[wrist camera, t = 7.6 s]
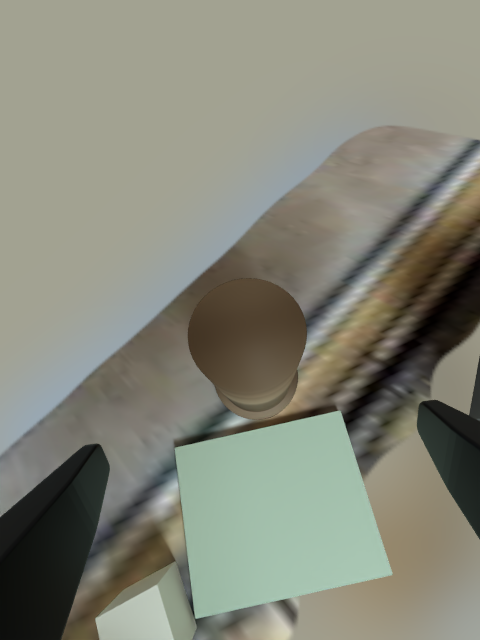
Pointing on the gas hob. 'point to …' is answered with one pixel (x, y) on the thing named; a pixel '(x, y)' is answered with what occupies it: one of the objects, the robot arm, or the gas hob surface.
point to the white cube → (149, 610)
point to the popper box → (476, 397)
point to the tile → (276, 515)
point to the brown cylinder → (249, 345)
